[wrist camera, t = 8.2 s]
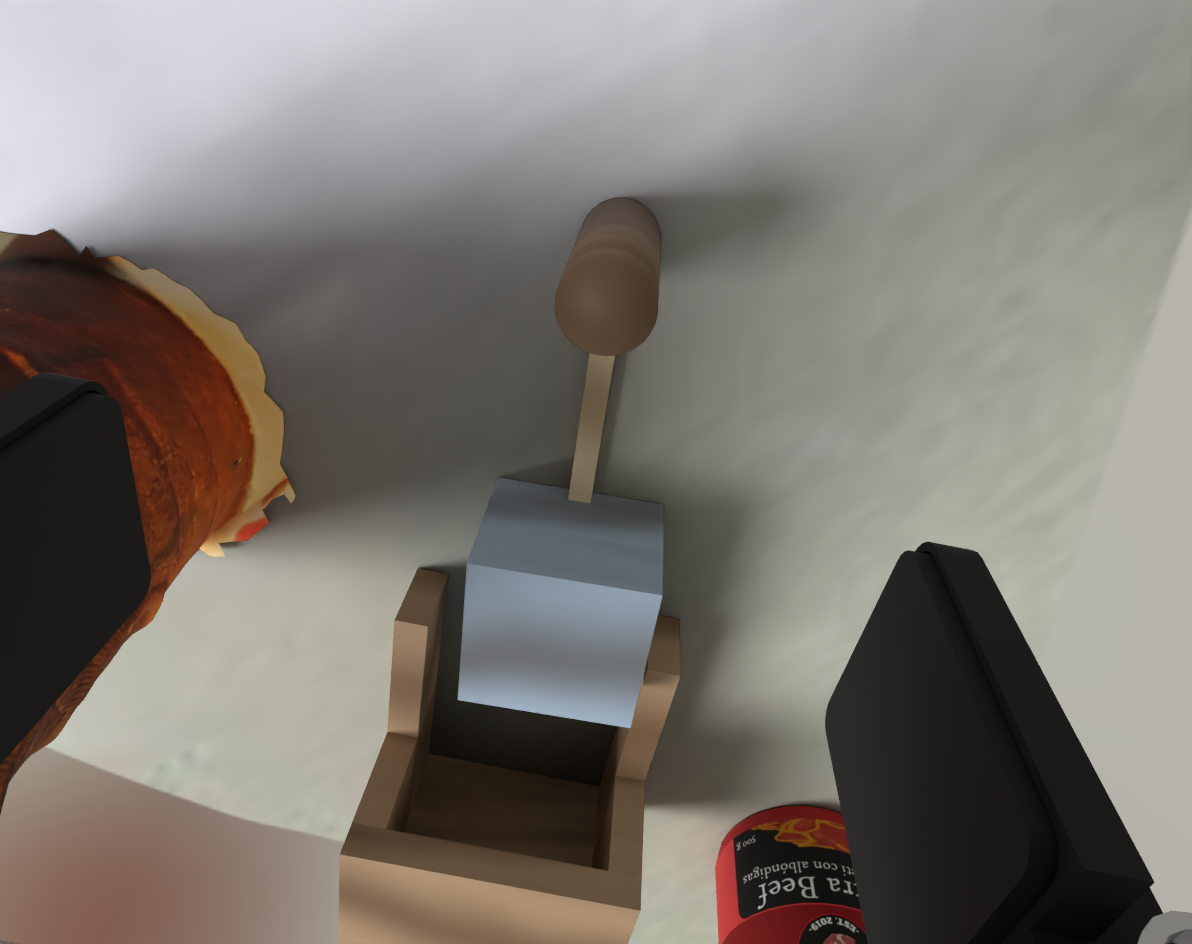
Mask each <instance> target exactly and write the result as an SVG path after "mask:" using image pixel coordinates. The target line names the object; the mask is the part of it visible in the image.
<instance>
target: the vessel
mask: <svg viewBox="0 0 1192 944" xmlns="http://www.w3.org/2000/svg"><path fill="white" fill-rule="evenodd" d="M43 372H46V373H55V374H60V375H66V376H71V377H76V378H81V379H86V380H92V381H97V382H99V383H100V384H102V385H103V386H104V387H105V388H106V390H107V391H108V393H109V396H110V397H113V398H115V399H116V400H117V401H118V402H119V404H120V406H121V409H122V413H123V419H124V424H125V430H126V435H127V441H128V446H129V452H130V458H131V463H132V469H133V474H134V480H135V485H136V491H137V497H138V502H139V508H140V513H141V519H142V524H143V530H144V536H145V541H146V547H147V552H148V558H149V563H150V569H151V582H150V586H149V590H148V592H147V594H146V597H145V598H144V600H143V601H142V603H141V604H140V605H139V606H138V608H137V609H136V610H135V611H134V612H133V613H132V614H131V616H130V617H129V618H128V619H127V620H126V621H125V622H124V624H123V625H122V626H121V627H120V628H119V629H118V631H117V632H116V633H115V634H114V635H113V636H112V637H111V639H110V640H109V641H108V642H107V643H106V644H105V645H104V647H103V648H102V649H101V650H100V651H99V652H98V654H97V655H96V656H95V657H94V658H93V659H92V660H91V662H90V663H89V664H88V665H87V666H86V667H85V668H84V670H83V671H82V672H81V673H80V674H79V675H78V677H77V678H76V679H75V680H74V681H73V682H72V683H71V685H70V686H69V687H68V688H67V689H66V690H65V691H64V693H63V694H62V695H61V696H60V697H59V698H58V700H57V701H56V702H55V703H54V704H53V705H52V706H51V708H50V709H49V710H48V711H47V712H46V713H45V714H44V716H43V717H42V718H41V719H40V720H39V721H38V722H37V724H36V725H35V726H34V727H33V728H32V729H31V731H30V732H29V733H28V734H27V735H26V736H25V737H24V739H23V740H22V741H21V742H20V743H19V744H18V745H17V747H16V748H15V749H14V750H13V751H12V752H11V754H10V755H9V756H8V757H7V758H6V759H5V760H4V762H3V763H2V764H1V765H0V814H1V809H2V806H3V802H4V798H5V795H6V791H7V787H8V784H9V782H10V780H11V779H12V777H13V776H14V775H15V773H16V772H17V771H18V769H19V768H20V767H21V765H22V764H23V763H24V762H25V761H26V760H27V759H28V758H29V757H30V756H31V755H32V754H34V753H35V752H37V751H38V750H40V749H41V748H43V747H44V746H46V745H48V744H49V743H51V742H52V741H53V740H54V739H55V738H56V737H57V736H58V735H59V733H60V732H61V731H62V729H63V728H64V726H65V724H66V723H67V721H68V720H69V718H70V717H71V715H72V714H73V712H74V711H75V709H76V708H77V706H78V705H79V704H80V703H81V702H82V701H83V700H84V698H85V697H86V695H87V694H88V692H89V690H90V689H91V687H92V686H93V684H94V682H95V681H96V679H97V678H98V677H99V676H100V674H101V673H102V672H103V671H104V669H105V668H106V667H107V666H108V664H109V663H110V662H111V660H112V659H113V657H114V656H115V655H116V653H117V652H118V650H119V649H120V647H121V646H122V645H123V643H124V642H125V641H126V640H127V639H128V638H129V637H130V636H131V635H132V634H134V633H135V632H137V631H139V630H140V629H142V628H144V627H145V626H146V625H148V624H149V623H150V622H151V621H152V620H153V619H154V617H155V615H156V613H157V611H158V609H159V608H160V606H161V603H162V602H163V598H164V593H165V592H166V590H167V589H168V588H169V586H170V585H171V584H172V582H173V581H174V580H175V578H176V577H177V575H178V574H179V573H180V571H181V570H182V568H183V567H184V566H185V564H186V563H187V562H188V561H189V560H190V559H191V557H192V556H193V555H194V554H195V553H196V552H197V551H198V550H199V549H200V550H202V551H203V552H205V553H206V554H208V555H209V556H225V555H224V553H223V551H222V548H221V546H220V544H219V543H224V542H232V541H247V540H248V539H250V538H251V537H252V536H253V535H254V534H256V533H257V532H258V531H259V530H260V529H262V528H263V527H264V526H265V525H267V524H268V523H269V522H268V520H267V518H266V516H265V514H264V512H263V509H264V508H265V507H266V506H267V505H268V504H269V503H270V502H271V501H272V499H274V498H277V497H280V496H282V495H285V496H286V497H287V499H288V500H289V501H290V503H292V502H293V500H294V498H295V497H296V496H295V494H294V491H293V489H292V487H291V484H290V482H289V479H288V477H287V476H286V474H285V472H284V470H283V469H282V467H281V465H280V459H281V454H282V446H283V434H284V418H283V411H282V410H281V409H280V408H279V407H278V406H277V405H276V404H275V403H274V402H273V401H272V399H271V398H270V397H269V396H268V395H267V394H266V393H265V392H264V387H265V380H266V376H265V373H264V370H263V367H262V363H261V360H260V357H259V354H258V353H257V352H256V351H255V349H254V348H253V347H252V346H251V345H250V344H249V343H248V342H247V341H246V340H245V338H244V336H243V334H242V333H241V331H240V330H239V328H238V327H237V325H236V324H235V323H234V322H232V321H230V320H227V319H225V318H223V317H221V316H219V315H216V314H214V313H213V312H212V311H211V310H210V309H209V308H208V307H207V306H206V305H205V303H204V302H203V301H202V300H201V299H200V298H199V297H198V296H197V295H195V294H194V293H193V292H192V291H191V290H190V289H189V288H187V287H185V286H183V285H181V284H179V283H176V282H174V281H172V280H171V279H169V278H168V277H167V276H166V275H164V274H163V273H161V272H159V271H157V270H156V269H154V268H150V269H146V270H141V269H140V268H138V267H137V266H135V265H134V264H133V263H131V262H129V261H127V260H125V259H124V258H122V257H120V256H118V255H117V256H110V257H100V258H95V257H94V256H93V254H92V253H91V252H90V250H89V249H88V248H87V246H86V247H85V248H84V250H83V251H82V253H81V255H80V256H78V255H77V254H76V253H75V252H74V251H73V250H72V249H71V248H70V247H69V245H68V244H67V243H66V242H65V241H64V240H62V239H61V238H60V237H59V236H58V235H56V234H55V233H54V232H53V231H52V230H51V229H50V230H48V231H45V232H43V233H40V234H38V235H35V236H29V235H18V234H9V233H3V232H0V396H2V395H3V394H5V393H7V392H8V391H10V390H12V389H13V388H15V387H17V386H18V385H20V384H22V383H23V382H25V381H27V380H28V379H30V378H32V377H33V376H35V375H38V374H40V373H43Z"/></svg>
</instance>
